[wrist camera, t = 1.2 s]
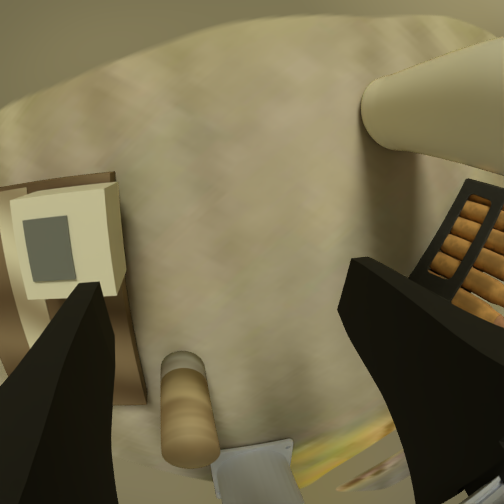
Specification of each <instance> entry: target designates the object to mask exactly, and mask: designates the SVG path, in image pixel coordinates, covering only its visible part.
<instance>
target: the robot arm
mask: <svg viewBox="0 0 504 504" xmlns="http://www.w3.org/2000/svg"><path fill="white" fill-rule="evenodd" d="M337 310H338V313H339V315H340V318H341V320H342V323H343V325H344V328H345V330H346V332H347V334H348V337H349V338H350V340H351V342H352V344H353V345H354V347H355V349H356V351H357V352H358V354H359V356H360V358H361V359H362V361H363V363H364V364H365V366H366V368H367V369H368V371H369V373H370V374H371V376H372V378H373V380H374V381H375V383H376V385H377V387H378V388H379V390H380V392H381V394H382V396H383V398H384V400H385V402H386V404H387V406H388V409H389V411H390V414H391V416H392V419H393V421H394V424H395V426H396V429H397V432H398V435H399V437H400V440H401V443H402V446H403V449H404V453H405V456H406V460H407V463H408V467H409V471H410V475H411V480H412V485H413V490H414V496H415V502H416V504H442V503H444V502H445V501H447V500H449V499H451V498H452V497H454V496H455V495H457V494H459V493H460V492H462V491H463V490H464V489H465V491H466V493H467V494H468V496H469V497H468V498H466V499H465V500H464V501H462V502H461V503H459V504H504V328H503V327H500V326H498V325H495V324H493V323H491V322H488V321H486V320H484V319H482V318H479V317H477V316H475V315H473V314H471V313H469V312H467V311H465V310H463V309H461V308H459V307H457V306H455V305H453V304H452V303H450V302H448V301H446V300H444V299H442V298H441V297H439V296H437V295H435V294H434V293H432V292H430V291H428V290H427V289H425V288H423V287H422V286H420V285H418V284H417V283H415V282H413V281H412V280H410V279H408V278H406V277H405V276H403V275H401V274H400V273H398V272H396V271H394V270H393V269H391V268H389V267H387V266H386V265H384V264H382V263H380V262H378V261H376V260H374V259H372V258H369V257H361V258H351V261H350V265H349V269H348V273H347V277H346V280H345V284H344V288H343V291H342V295H341V298H340V302H339V305H338V309H337ZM114 380H115V334H114V331H113V328H112V324H111V321H110V318H109V314H108V311H107V307H106V304H105V300H104V296H103V293H102V289H101V285H100V281H98V282H85V283H78V285H77V286H76V287H75V288H74V290H73V291H72V292H71V294H70V295H69V296H68V298H67V299H66V300H65V302H64V303H63V304H62V306H61V307H60V309H59V310H58V311H57V313H56V314H55V316H54V317H53V318H52V320H51V321H50V323H49V324H48V325H47V327H46V328H45V329H44V331H43V332H42V334H41V335H40V336H39V338H38V339H37V340H36V342H35V343H34V344H33V346H32V347H31V348H30V350H29V351H28V352H27V354H26V355H25V356H24V358H23V359H22V360H21V362H20V363H19V364H18V366H17V367H16V368H15V369H14V371H13V372H12V373H11V374H10V375H9V377H8V378H7V379H6V380H5V381H4V383H3V384H2V385H1V386H0V504H118V498H117V492H116V486H115V479H114V471H113V462H112V452H111V427H112V408H113V393H114ZM292 450H293V440H292V439H284V440H279V441H274V442H269V443H263V444H257V445H251V446H245V447H238V448H231V449H223V450H220V456H219V457H218V459H217V460H216V461H215V462H213V463H212V464H210V465H211V471H212V477H213V482H214V487H215V493H216V497H217V498H218V499H222V504H305V502H304V500H303V498H302V495H301V493H300V491H299V488H298V486H297V483H296V481H295V479H294V476H293V474H292V471H291V469H290V463H291V457H292Z"/></svg>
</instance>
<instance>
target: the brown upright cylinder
mask: <svg viewBox="0 0 504 504" xmlns="http://www.w3.org/2000/svg"><path fill="white" fill-rule="evenodd" d="M161 449H162V456H163V458H164V459H165V460H166V461H167V462H168V463H170V464H171V465H174V466H176V467H180V468H187V469H194V468H201V467H205V466H207V465H210V464H212V463H213V462H215V461H216V460H217V459H218V457H219V456H220V446H219V441H218V436H217V432H216V427H215V422H214V417H213V411H212V406H211V401H210V396H209V390H208V385H207V379H206V373H205V367H204V363H203V361H202V360H201V358H200V357H198V356H197V355H196V354H194V353H191V352H187V351H177V352H174V353H171V354H169V355H168V356H166V357H165V358H164V360H163V361H162V364H161Z"/></svg>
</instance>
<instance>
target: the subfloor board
mask: <svg viewBox="0 0 504 504" xmlns="http://www.w3.org/2000/svg"><path fill="white" fill-rule="evenodd" d="M109 182H115V171H114V172H104V173H95V174H86V175H78V176H70V177H62V178H55V179H48V180H41V181H34V182H28V183H22V184H16V185H10V186H5V187H0V358H1V361H2V363H3V366H4V368H5V370H6V373H7V375H8V377H9V375H10V374H11V373H12V372H13V371H14V369H15V368H16V367H17V366H18V364H19V363H20V362H21V360H22V359H23V358H24V356H25V355H26V354H27V352H28V351H29V350H30V348H31V347H32V346H33V344H34V343H35V342H36V340H37V339H38V338H39V336H40V335H41V334H42V332H43V331H44V329H45V328H46V327H47V325H48V324H49V323H50V321H51V320H52V318H53V317H54V316H55V314H56V313H57V311H58V310H59V309H60V307H61V306H62V304H63V303H64V302H65V300H66V299H67V298H60V299H35V300H28V299H27V295H26V291H25V287H24V282H23V278H22V274H21V269H20V264H19V259H18V254H17V248H16V243H15V237H14V230H13V223H12V216H11V208H10V200H13V199H16V198H18V197H21V196H24V195H27V194H30V193H33V192H36V191H41V190H48V189H56V188H64V187H72V186H80V185H89V184H99V183H109ZM104 300H105V304H106V307H107V311H108V314H109V318H110V321H111V324H112V328H113V331H114V334H115V380H114V393H113V405H146V404H147V388H146V384H145V380H144V376H143V372H142V367H141V363H140V358H139V354H138V349H137V344H136V339H135V334H134V329H133V323H132V318H131V312H130V306H129V300H128V294H127V288H126V281H125V276H124V278H123V281H122V283H121V286H120V289H119V291H118V294H117V296H104Z"/></svg>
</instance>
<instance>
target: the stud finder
mask: <svg viewBox="0 0 504 504" xmlns="http://www.w3.org/2000/svg"><path fill="white" fill-rule="evenodd" d="M10 208H11V216H12V223H13V230H14V237H15V243H16V248H17V254H18V259H19V264H20V269H21V274H22V278H23V282H24V287H25V291H26V295H27V299H28V300H35V299H60V298H68V296H69V295H70V294H71V292H72V291H73V290H74V288H75V287H76V286H77V285H78V283H85V282H98V281H100V285H101V289H102V293H103V296H117V294H118V291H119V289H120V286H121V283H122V281H123V278H124V276H125V273H126V270H127V269H126V261H125V253H124V244H123V235H122V224H121V213H120V200H119V185H118V182H109V183H99V184H89V185H80V186H72V187H64V188H56V189H48V190H41V191H36V192H33V193H30V194H27V195H24V196H21V197H18V198H16V199H13V200H10Z"/></svg>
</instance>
